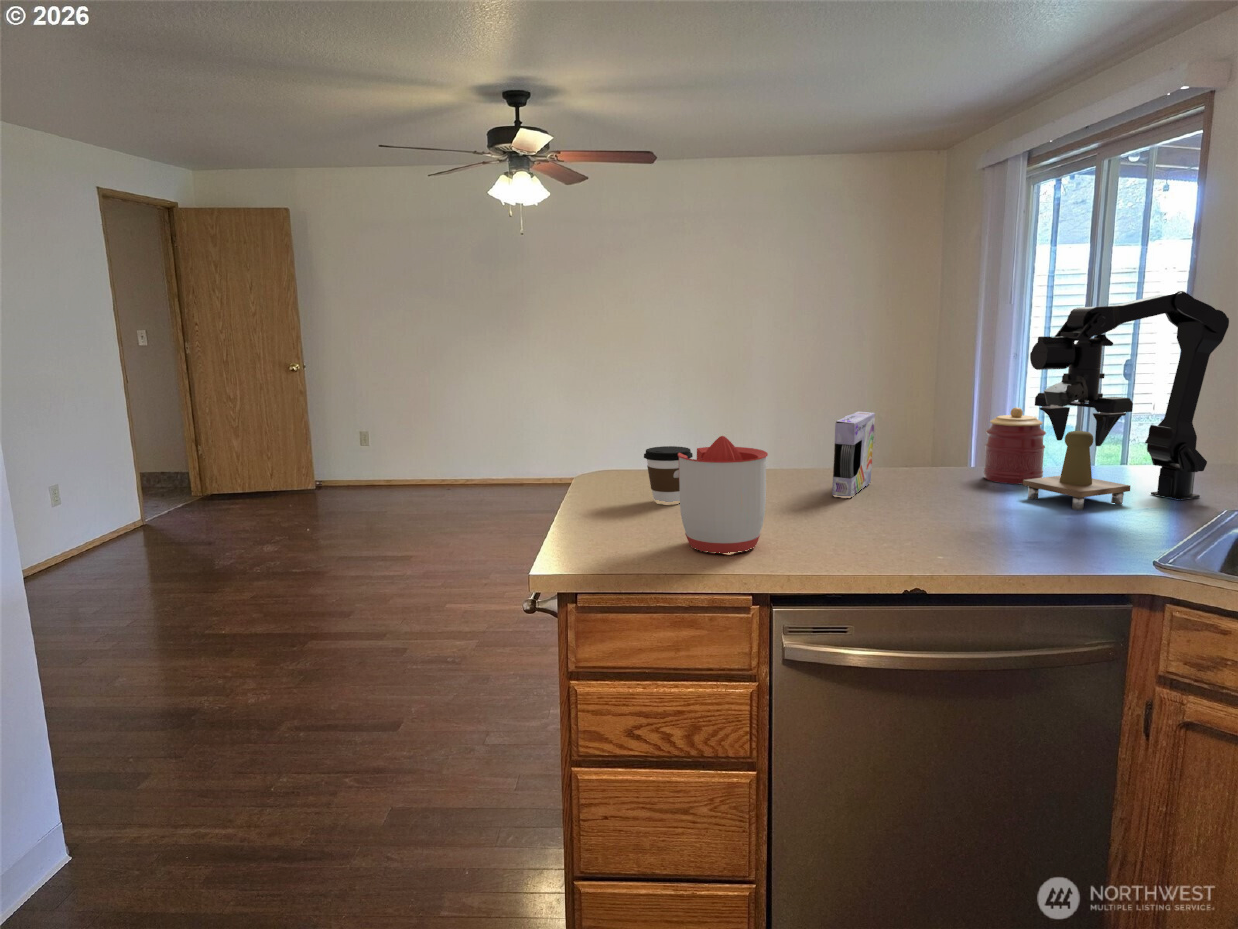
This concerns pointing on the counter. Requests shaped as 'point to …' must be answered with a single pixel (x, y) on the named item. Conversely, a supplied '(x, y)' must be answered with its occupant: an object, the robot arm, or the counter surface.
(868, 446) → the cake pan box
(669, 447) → the coffee cup
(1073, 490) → the shelf board
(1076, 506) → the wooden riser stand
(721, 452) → the citrus juicer
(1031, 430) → the canister
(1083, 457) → the cork
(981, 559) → the counter surface
